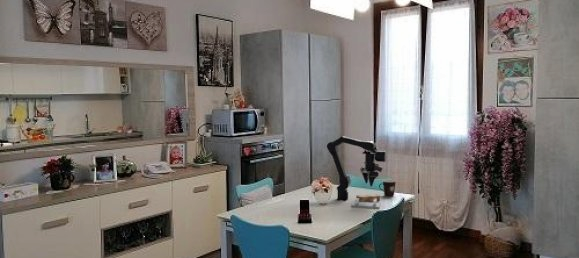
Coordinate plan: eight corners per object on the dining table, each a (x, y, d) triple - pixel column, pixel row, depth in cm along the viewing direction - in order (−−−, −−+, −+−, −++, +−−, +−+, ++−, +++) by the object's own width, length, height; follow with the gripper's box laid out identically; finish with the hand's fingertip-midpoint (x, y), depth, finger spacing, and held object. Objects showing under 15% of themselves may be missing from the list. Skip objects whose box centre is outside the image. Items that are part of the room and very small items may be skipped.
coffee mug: (394, 194, 314) (394, 179, 313) (396, 196, 305) (396, 182, 305) (377, 193, 315) (377, 179, 314) (379, 196, 306) (379, 182, 306)
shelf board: (359, 203, 290) (359, 197, 289) (356, 201, 295) (356, 195, 295) (379, 201, 293) (379, 195, 292) (376, 200, 298) (376, 194, 298)
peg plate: (351, 206, 279) (351, 200, 278) (353, 203, 288) (353, 197, 288) (379, 208, 274) (379, 202, 274) (380, 204, 284) (380, 198, 284)
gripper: (386, 163, 284) (385, 187, 285) (376, 158, 302) (375, 181, 304) (369, 163, 282) (369, 187, 283) (360, 158, 300) (359, 181, 302)
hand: (368, 184), depth 293 cm, fingers open, 9 cm apart
